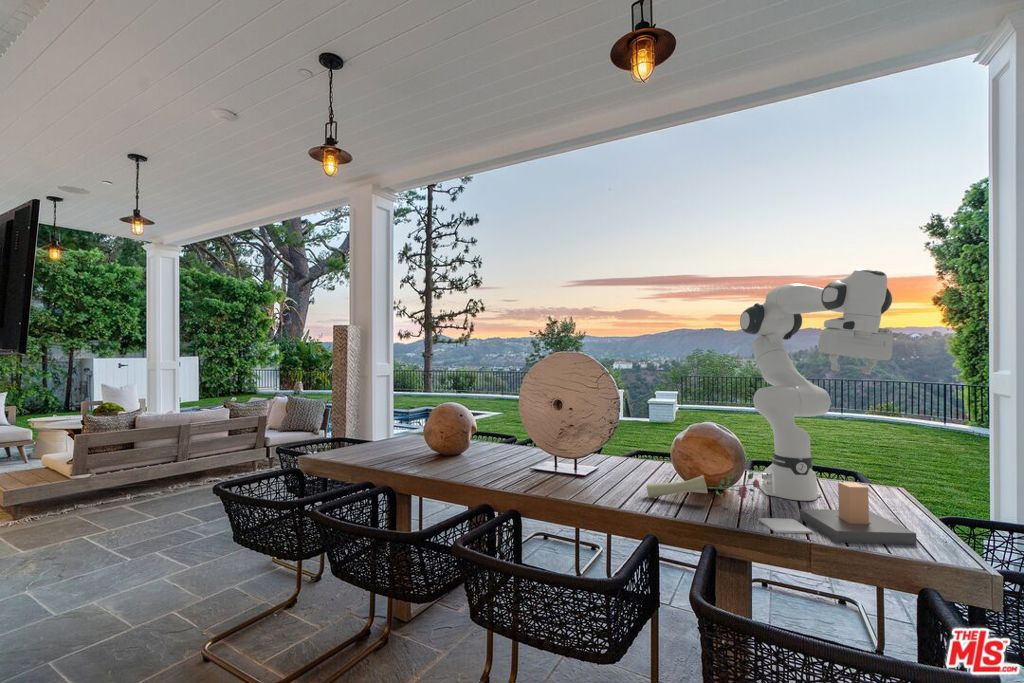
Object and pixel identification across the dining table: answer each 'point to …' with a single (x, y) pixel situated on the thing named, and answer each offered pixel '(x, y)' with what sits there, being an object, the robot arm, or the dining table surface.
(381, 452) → the dining table surface
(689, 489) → the flower vase
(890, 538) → the holder
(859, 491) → the peg
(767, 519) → the mat
